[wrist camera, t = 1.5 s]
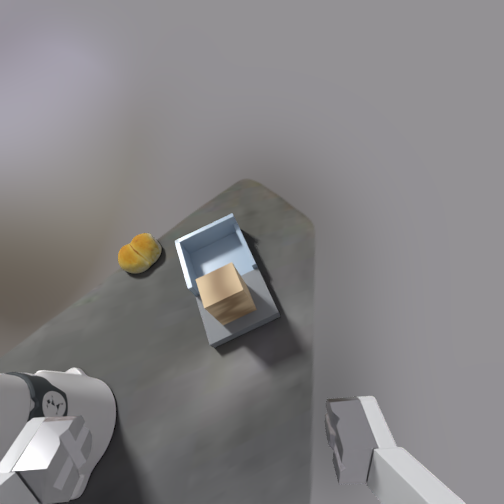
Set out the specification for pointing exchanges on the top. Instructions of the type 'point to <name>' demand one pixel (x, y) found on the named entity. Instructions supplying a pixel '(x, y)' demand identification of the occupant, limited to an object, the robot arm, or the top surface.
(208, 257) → the tray
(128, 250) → the bread roll
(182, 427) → the top surface
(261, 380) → the top surface
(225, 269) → the oak block
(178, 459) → the top surface
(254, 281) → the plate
